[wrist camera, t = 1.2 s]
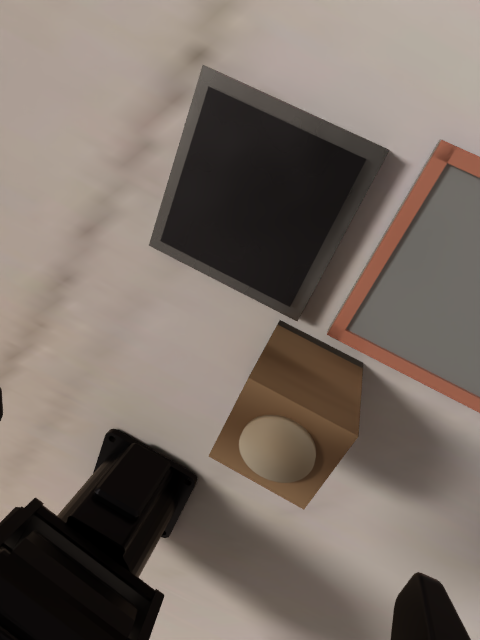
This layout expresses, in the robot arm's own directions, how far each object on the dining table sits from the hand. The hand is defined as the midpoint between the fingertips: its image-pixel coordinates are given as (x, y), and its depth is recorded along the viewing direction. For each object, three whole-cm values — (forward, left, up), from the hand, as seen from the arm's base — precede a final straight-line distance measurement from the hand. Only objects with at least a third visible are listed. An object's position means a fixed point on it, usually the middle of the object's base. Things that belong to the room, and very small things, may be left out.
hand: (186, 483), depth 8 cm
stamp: (-4, -2, -13) cm, 14 cm away
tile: (+3, -7, -13) cm, 15 cm away
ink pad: (+3, +3, -13) cm, 13 cm away
